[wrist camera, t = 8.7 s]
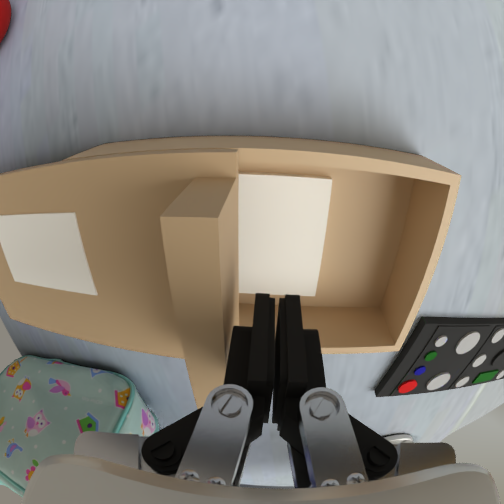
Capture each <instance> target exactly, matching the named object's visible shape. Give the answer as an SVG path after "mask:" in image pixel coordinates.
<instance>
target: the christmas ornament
mask: <svg viewBox="0 0 504 504" xmlns="http://www.w3.org/2000/svg"><path fill="white" fill-rule="evenodd" d="M10 20H11V6H10V2H9V0H0V43H1V41H2V40H3V38H4V36H5V34H6V32H7V30H8V27H9V24H10Z"/></svg>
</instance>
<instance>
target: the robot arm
mask: <svg viewBox="0 0 504 504" xmlns="http://www.w3.org/2000/svg"><path fill="white" fill-rule="evenodd" d="M272 392H273V414H272V423H278V431H280V436H281V437H282V438H283V439H284V440H285V441H287V447H288V453H289V458H290V464H291V470H292V476H293V482H294V487H295V489H269V488H246V487H239V485H240V482H241V478H242V475H243V471H244V468H245V464H246V460H247V457H248V453H249V449H250V446H251V442H252V441H254V440H255V439H257V438H258V437H259V436H261V435H262V427H263V423H268V419H269V412H270V406H271V399H272ZM21 504H501V503H500V499H499V495H498V490H497V487H496V484H495V481H494V479H493V477H492V475H491V473H490V472H489V471H488V470H487V469H486V468H484V467H482V466H480V465H476V464H470V463H456V455H455V451H454V449H453V447H452V446H451V445H449V444H447V443H442V442H441V443H413V438H412V436H410V435H406V434H400V435H392V436H387V437H382V436H380V435H379V434H377V433H376V432H374V431H373V430H371V429H370V428H368V427H367V426H365V425H364V424H362V423H361V422H360V421H358V420H357V419H355V418H354V417H352V416H351V415H349V414H348V412H347V409H346V406H345V403H344V401H343V399H342V397H341V396H340V395H339V394H338V393H337V392H336V391H334V390H332V389H329V388H326V383H325V375H324V367H323V360H322V352H321V345H320V338H319V332H318V330H317V329H303V322H302V312H301V303H300V295H288V294H285V298H279V307H278V316H277V326H276V335H275V298H271V297H270V294H267V293H256V294H255V304H254V315H253V326H252V327H248V326H233V330H232V336H231V342H230V348H229V354H228V360H227V366H226V372H225V378H224V384H223V385H221V386H218V387H216V388H214V389H213V390H212V391H211V392H210V393H209V395H208V396H207V398H206V401H205V403H204V406H203V407H201V408H199V409H198V410H196V411H194V412H192V413H191V414H189V415H187V416H185V417H184V418H182V419H180V420H178V421H177V422H175V423H173V424H171V425H169V426H167V427H165V428H164V429H162V430H160V431H158V432H156V433H154V434H152V435H151V436H149V437H146V436H140V435H139V434H121V433H108V432H97V431H85V432H83V433H81V434H80V435H79V436H78V437H77V439H76V442H75V446H74V454H58V455H52V456H49V457H47V458H45V459H44V460H42V461H41V462H40V464H39V465H38V466H37V468H36V469H35V471H34V473H33V474H32V476H31V478H30V480H29V483H28V485H27V487H26V490H25V493H24V495H23V498H22V501H21Z"/></svg>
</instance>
